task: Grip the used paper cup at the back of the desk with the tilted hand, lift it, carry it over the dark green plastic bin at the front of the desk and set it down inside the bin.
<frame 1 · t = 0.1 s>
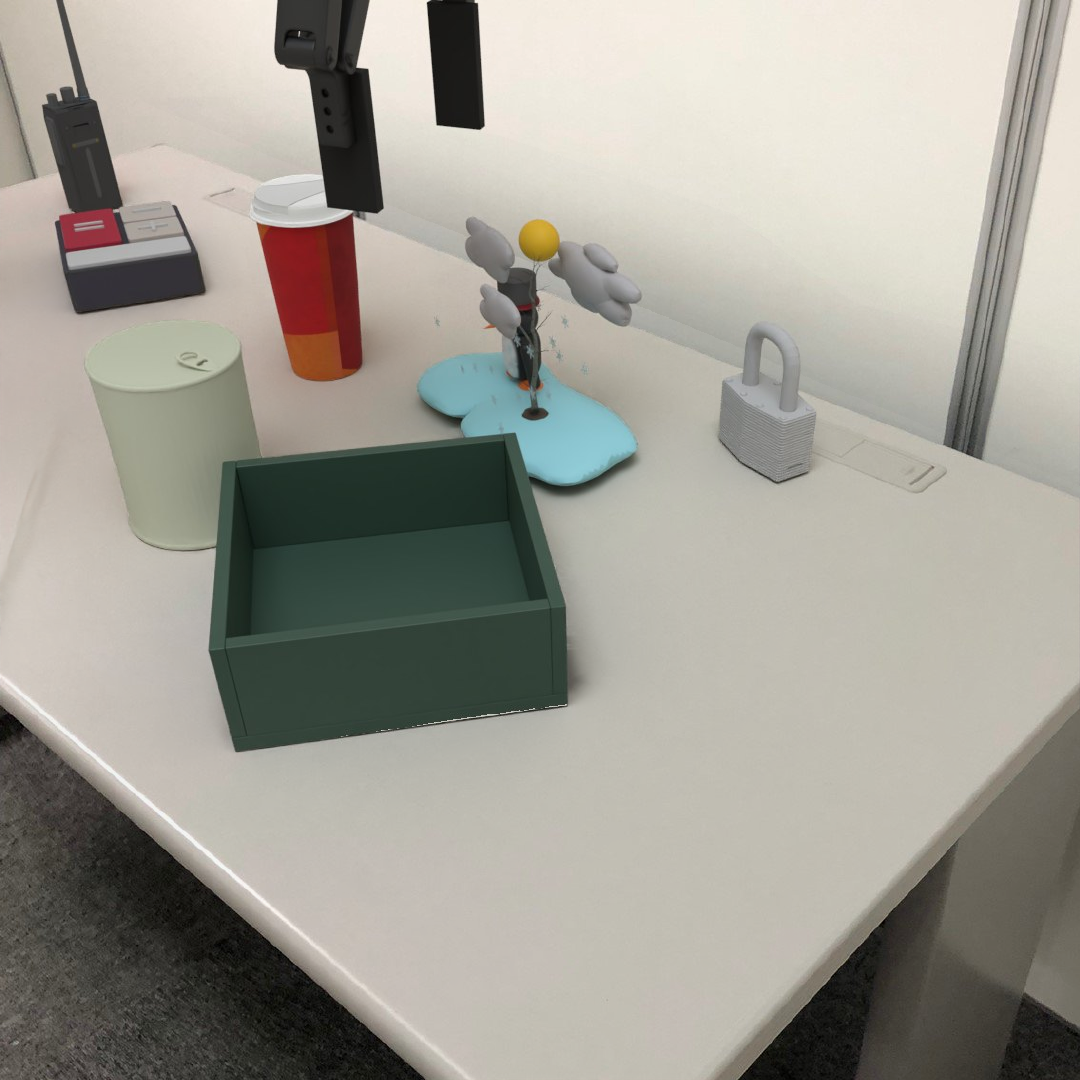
hand: (412, 164, 65), 23 cm above the table, tool pointing down, fingers open, 13 cm apart
paper cup: (326, 367, 97), on the table
blue and grey toy: (525, 431, 89), on the table
can: (202, 513, 81), on the table
walkie-talkie: (96, 209, 123), on the table
calculator: (133, 274, 111), on the table
bin: (393, 625, 71), on the table
padlock: (762, 458, 86), on the table
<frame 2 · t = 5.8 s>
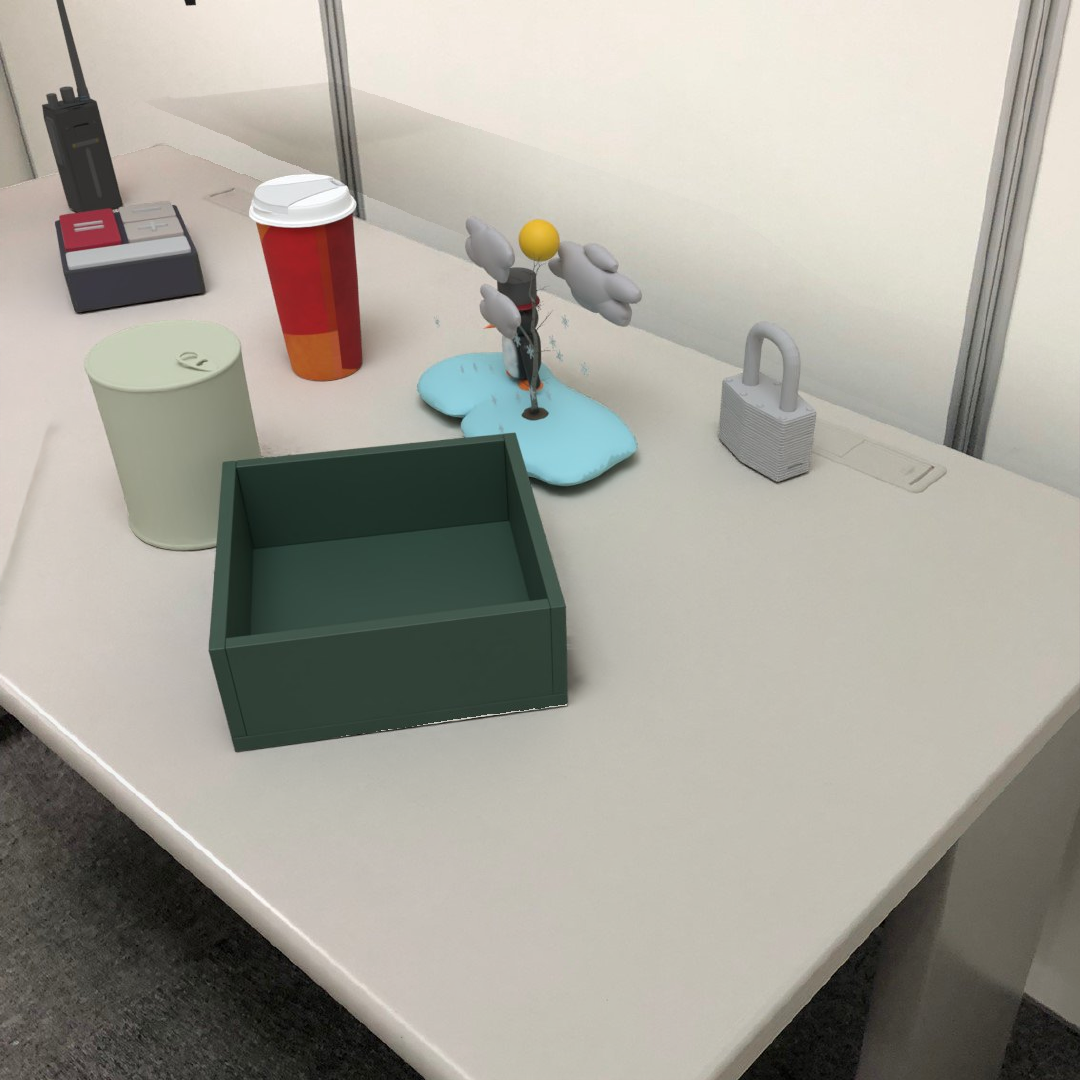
nothing on the table moved.
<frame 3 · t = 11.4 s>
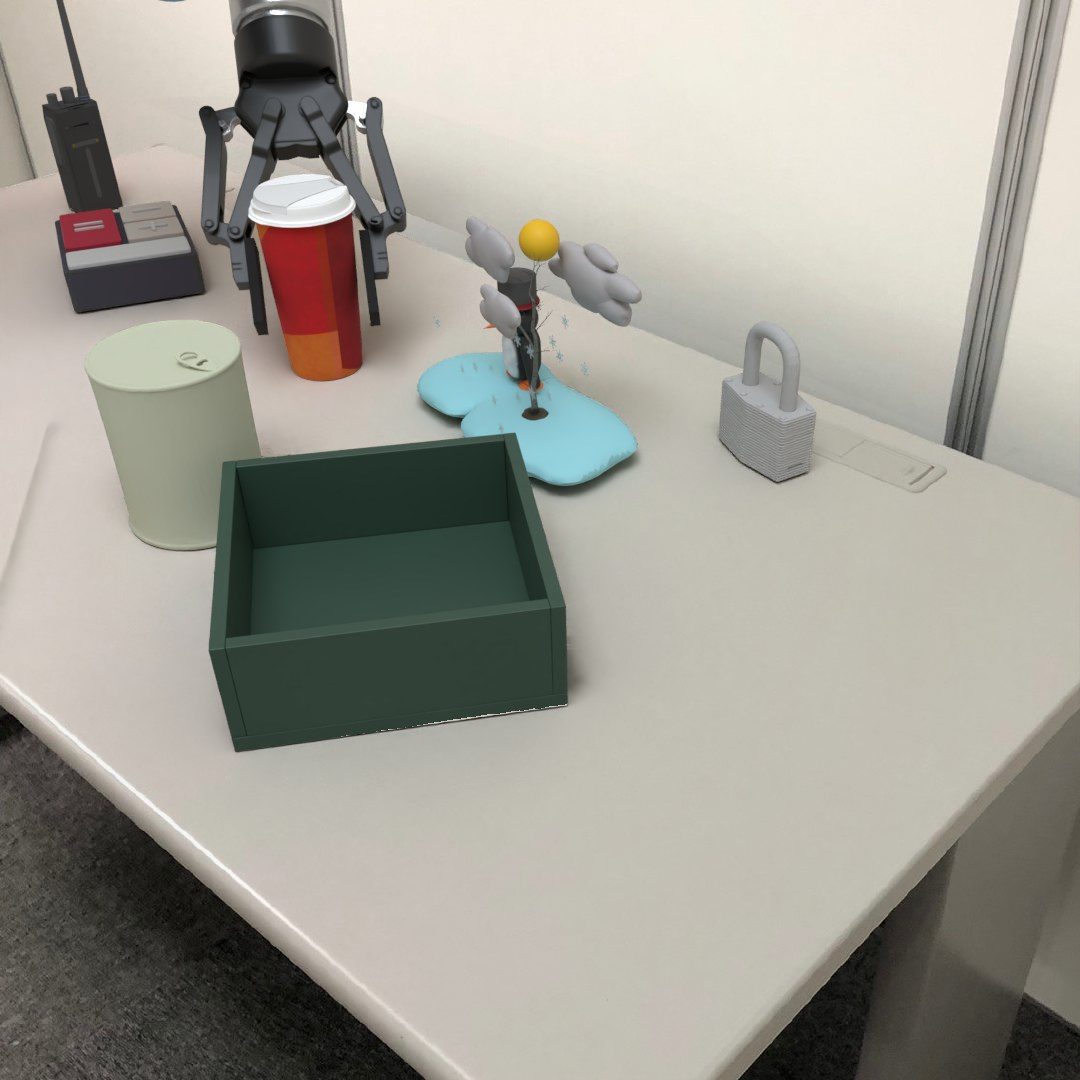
hand: (318, 323, 91), 5 cm above the table, tool tilted 45°, fingers closed on paper cup, 8 cm apart
paper cup: (327, 366, 97), on the table, touching gripper
everything else where it was.
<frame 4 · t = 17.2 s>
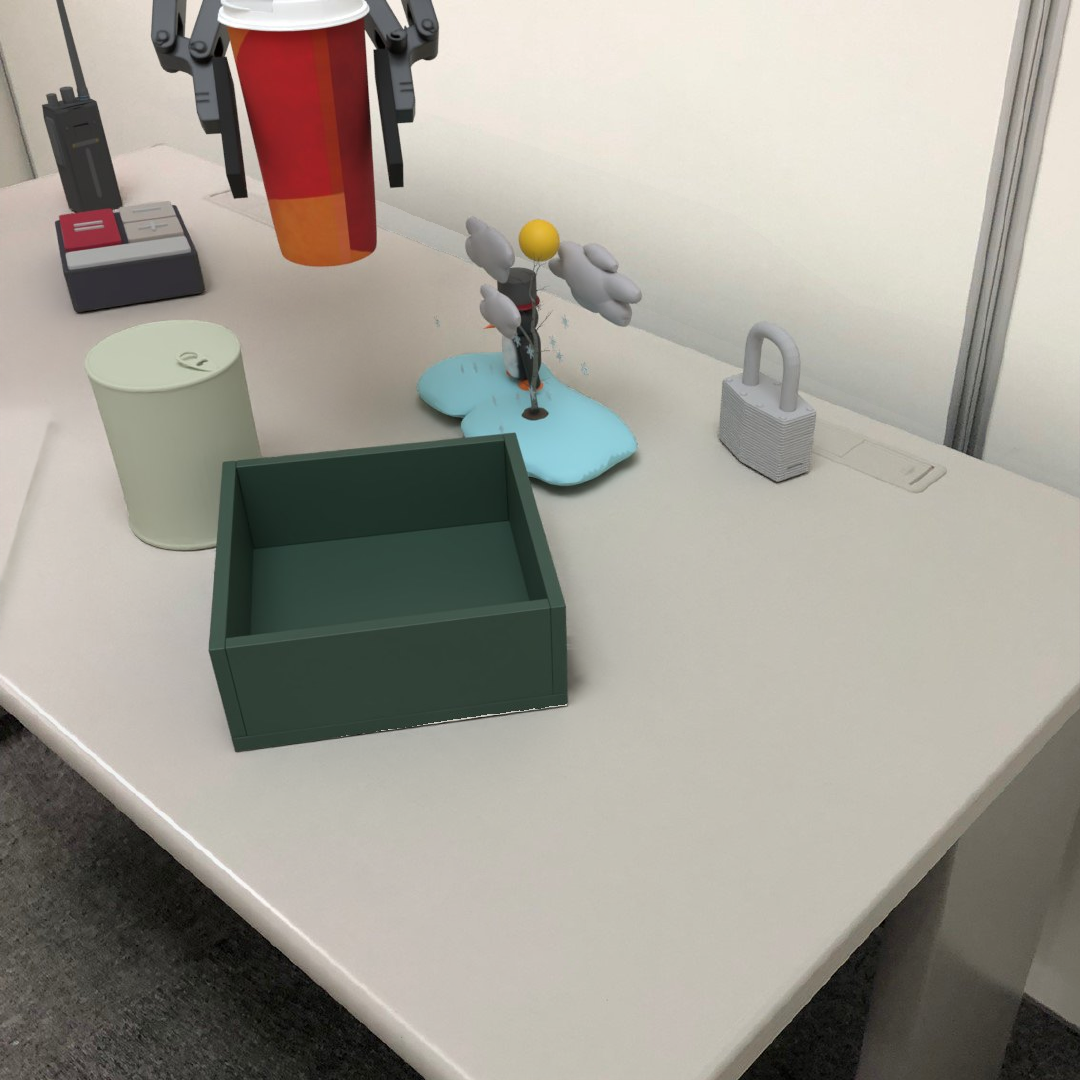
hand: (317, 180, 65), 23 cm above the table, tool tilted 45°, fingers closed on paper cup, 8 cm apart
paper cup: (328, 251, 71), point 17 cm above the table, touching gripper
everything else where it was.
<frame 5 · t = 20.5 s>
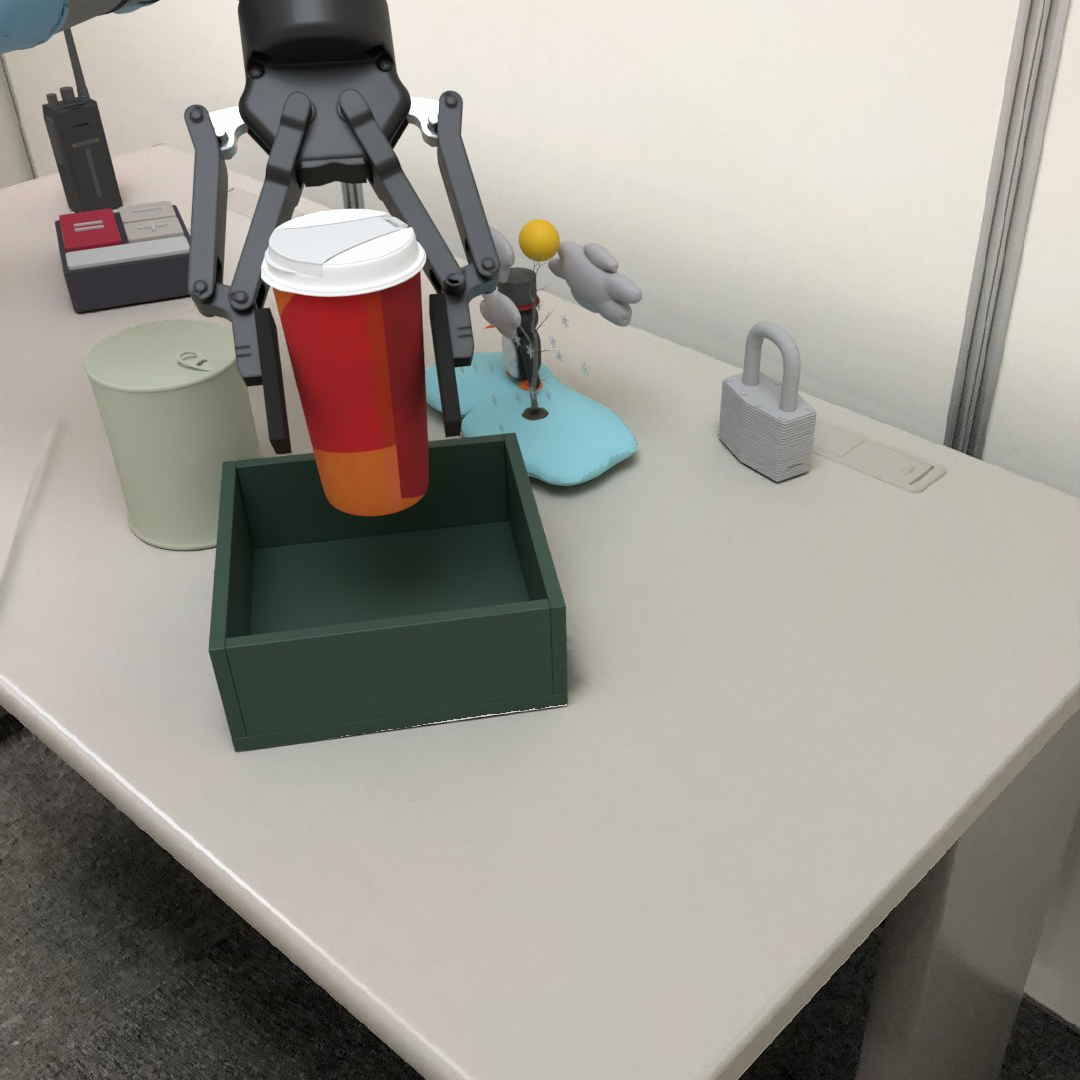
hand: (368, 437, 59), 15 cm above the table, tool tilted 45°, fingers closed on paper cup, 8 cm apart
paper cup: (376, 490, 65), point 9 cm above the table, touching gripper
everything else where it was.
when the fingers open (6 cm above the table, at t = 23.0 s): paper cup stays where it is, resting on bin.
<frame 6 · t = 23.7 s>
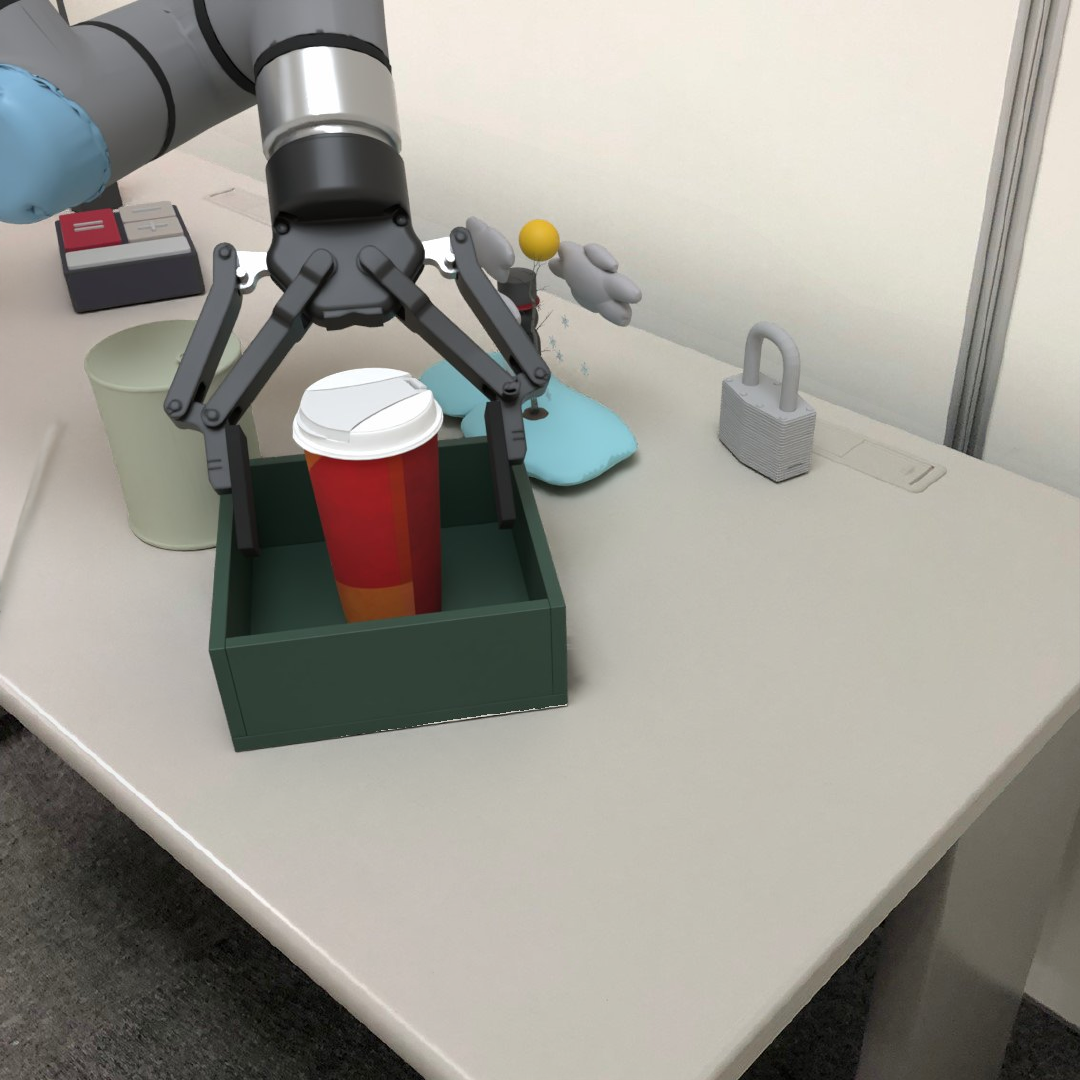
hand: (380, 539, 65), 8 cm above the table, tool tilted 45°, fingers open, 13 cm apart
paper cup: (393, 614, 71), point 1 cm above the table, touching bin
everything else where it was.
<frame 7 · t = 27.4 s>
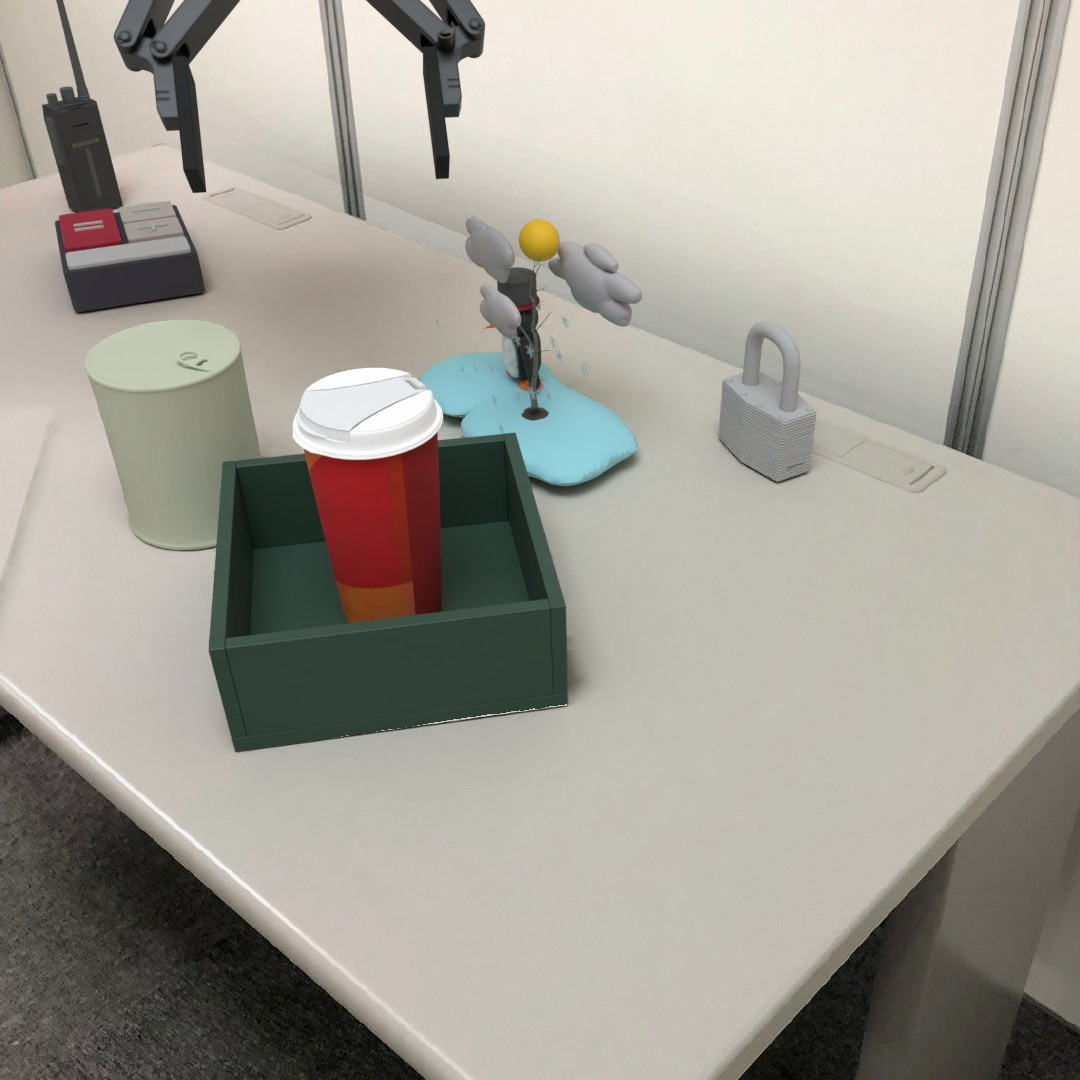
hand: (321, 175, 68), 22 cm above the table, tool tilted 45°, fingers open, 13 cm apart
nothing on the table moved.
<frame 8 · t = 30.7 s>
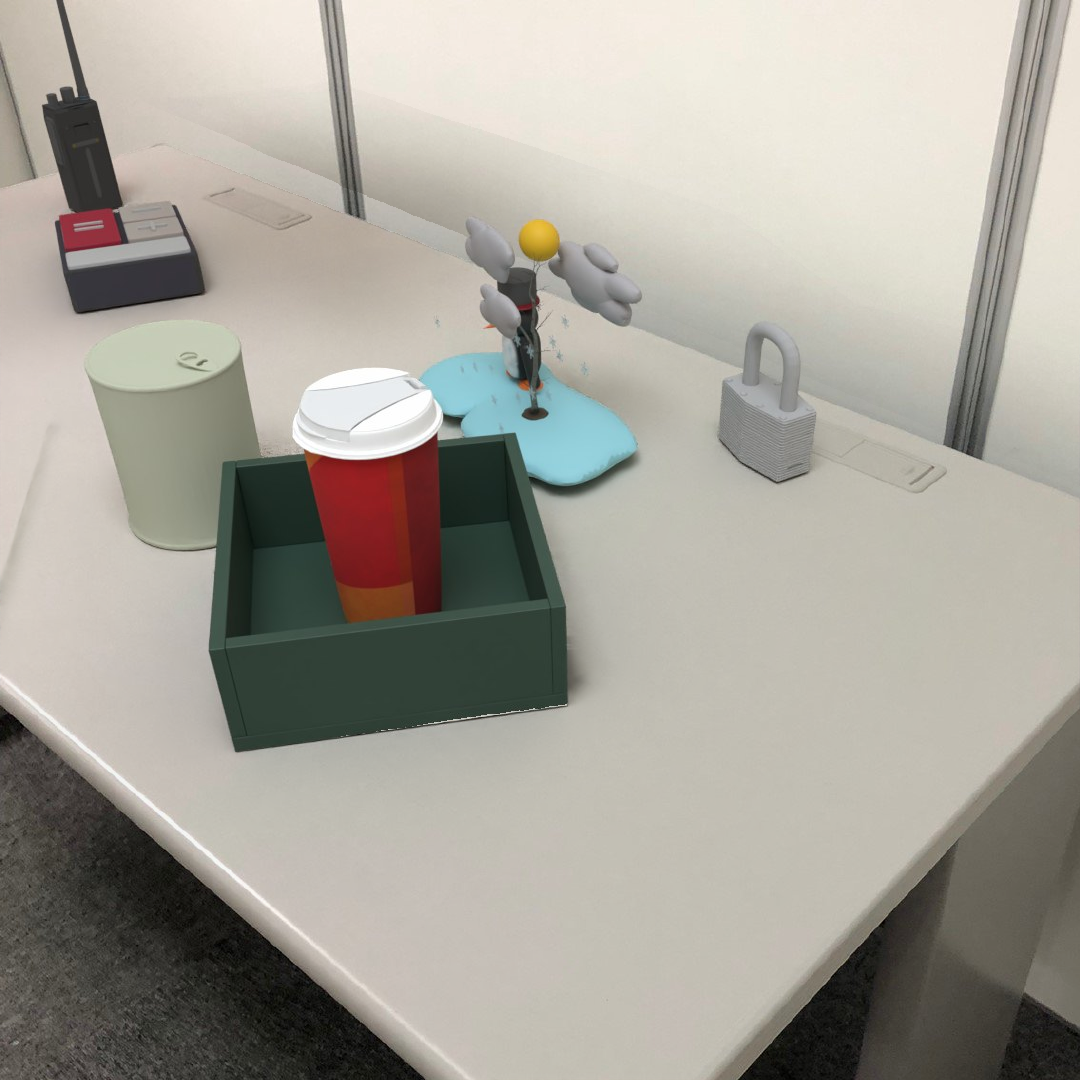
nothing on the table moved.
at the end: paper cup inside the target area in the bin (0.0 cm from its centre), point 0.8 cm above the bin's base; paper cup tilted 0°; the gripper is holding nothing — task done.
